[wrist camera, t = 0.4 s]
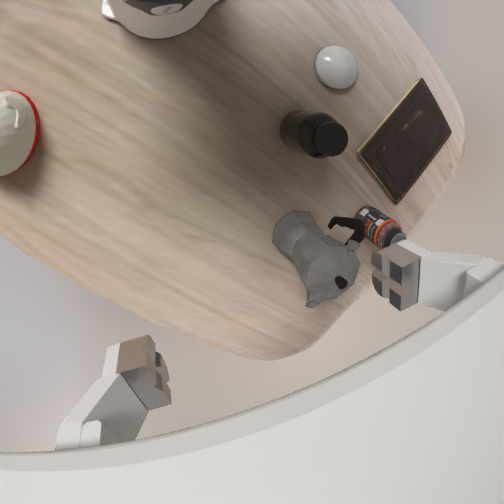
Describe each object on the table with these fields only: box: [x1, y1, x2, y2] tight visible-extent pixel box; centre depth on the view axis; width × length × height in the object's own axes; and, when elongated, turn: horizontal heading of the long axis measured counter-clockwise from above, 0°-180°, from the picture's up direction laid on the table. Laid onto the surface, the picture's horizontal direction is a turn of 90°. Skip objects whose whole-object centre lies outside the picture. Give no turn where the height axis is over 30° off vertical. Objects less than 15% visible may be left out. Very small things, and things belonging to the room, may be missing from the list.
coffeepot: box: [272, 211, 365, 308], centre depth 48 cm, size 15×9×18 cm, turn 149°
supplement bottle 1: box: [280, 110, 348, 158], centre depth 42 cm, size 7×7×12 cm
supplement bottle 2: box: [355, 206, 406, 249], centre depth 54 cm, size 6×6×11 cm
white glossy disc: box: [314, 45, 358, 89], centre depth 43 cm, size 8×8×1 cm
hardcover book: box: [356, 78, 452, 204], centre depth 53 cm, size 16×23×2 cm
